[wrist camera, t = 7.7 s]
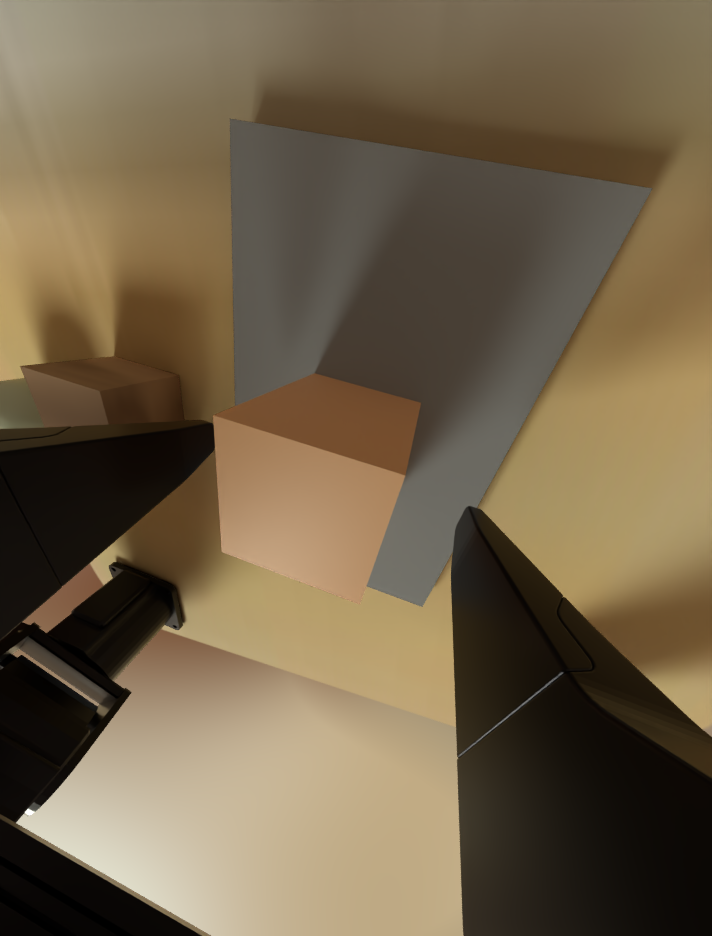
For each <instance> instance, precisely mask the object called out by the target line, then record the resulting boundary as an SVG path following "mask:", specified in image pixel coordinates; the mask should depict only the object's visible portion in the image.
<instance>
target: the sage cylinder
mask: <svg viewBox="0 0 712 936" xmlns="http://www.w3.org/2000/svg"><path fill="white" fill-rule="evenodd" d="M40 427H44V425H43V422H42V420H41V417H40V415H39V412H38V410H37V407H36V405H35V402H34V400H33V397H32V395H31V392H30V390H29V387H28V385H27V382H26V380H25V378H21V379H13V380H6V381H0V429H9V428H40Z"/></svg>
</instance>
